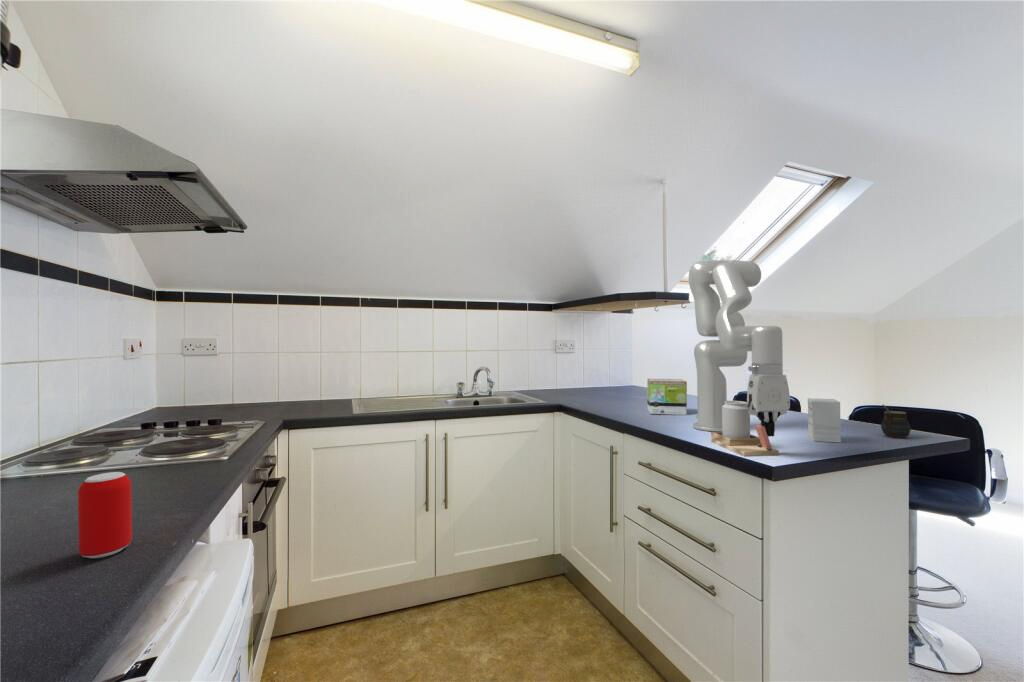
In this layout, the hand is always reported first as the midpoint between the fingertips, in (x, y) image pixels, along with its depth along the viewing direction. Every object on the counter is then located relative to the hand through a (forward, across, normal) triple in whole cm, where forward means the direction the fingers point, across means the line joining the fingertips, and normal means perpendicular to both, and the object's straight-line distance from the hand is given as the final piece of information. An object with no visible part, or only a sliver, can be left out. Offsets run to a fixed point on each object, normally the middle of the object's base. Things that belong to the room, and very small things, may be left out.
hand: (767, 435), depth 123 cm
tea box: (+5, +2, +68) cm, 69 cm away
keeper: (0, -2, 0) cm, 2 cm away
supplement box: (+5, +28, +13) cm, 31 cm away
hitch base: (+5, -3, +6) cm, 9 cm away
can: (+4, -3, +10) cm, 11 cm away
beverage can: (+5, -140, -40) cm, 146 cm away
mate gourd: (+5, +53, +13) cm, 55 cm away
